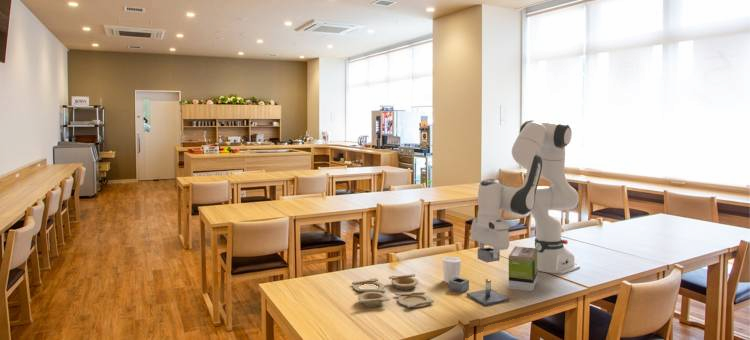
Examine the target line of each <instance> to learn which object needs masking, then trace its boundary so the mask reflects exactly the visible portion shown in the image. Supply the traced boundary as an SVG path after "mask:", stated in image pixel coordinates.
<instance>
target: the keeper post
mask: <svg viewBox="0 0 750 340" xmlns="http://www.w3.org/2000/svg"><path fill="white" fill-rule="evenodd" d="M484 280H485V289H481V290H476V291H471V292H466V297H469V298H470V299H472V300H473V301H475V302H477V303H478V304H480V305H482V306H484V307H486V306H492V305H497V304H501V303H507V302H510V301H511V297H508V296H507V295H504V294H502V293H501V292H498V291H497V290H495V289H493V288H492V279H491V278H485V279H484ZM506 301H507V302H506Z"/></svg>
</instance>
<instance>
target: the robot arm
mask: <svg viewBox="0 0 750 340" xmlns="http://www.w3.org/2000/svg"><path fill="white" fill-rule="evenodd" d="M518 133H519V134H518V136H517V138H516V139H515V141H514V143H513V146H512V148H511V155H512V159H514V161H515V162H516V163H517V164H518V165H519V166H521V167H523V168H525V169H526V172H525V177H524V179H523V183H522V185H521V186H520V187H512V186H508V185H507V186H506V185H503V184H501V182H500V181H499V180H498V179H493V178H489V179H487V178H486V179H483V180H481V182H480V183H479V185H478V189H477V205H478V210H477V217H474V218H473V219H472V223H471V227H470V235H469V236H470V239H471V240H473V241H475V242H477V244H478V247H479V248H478V249H480V248H485V245H487V246H488V247H491V248H493V250H494V252H493V253H492V258H494V259H495V258H497V257H498V253H499V251H503V250H504V251H505V250H508V249H509V247H510V231H509V230H508V229H510V223H509V222H508V221H507V220H506V219H504V217H502V213H501V211H504V212H505V211H506V212H511V213H514V214H518V215H522V216H523V215H524V216H525V215H526V214H528V213H530V214H531V215H532V217H533V219H534V222H535V238H534V248H537V272H543V273H551V274H560V275H564V274H566V273H570V272H571V271H575V270H578V269H580V268H581V265H579V264H578V263H576V262H575V256H574V254H573V252H571V251H570V250H568V249H567V248H566V247H565V246H564V245H568V243H569V241H568V240H567V239H562V224H561V222H560V220H558V219H557V218H555V217H554V216H551V215H550V214H549V211H565V210H566V211H567V210H571V209H575V208H576V207H577V206H578V204H579V201H580V197H579V196H580V195H579V193H578V191H577V190H576V188H574V187H572V185H570V182H568V180H567V177H566V175H565V174H566V171H565V161H566V147H567V146H568V145H569V144H570V142H571V140H572V135H573V133H572V129H571V127H570V125H569V124H567V123H565V122H564V123H563V122H556V121H550V120H527V121H525V122H524V123H522V125H521V126H520V128H519V132H518ZM540 177H541V178H543V179H544V180H547V181H548V182H550V185H549V186H547V185H546V186H545V185H542V186H539V181H540Z"/></svg>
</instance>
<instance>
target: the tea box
mask: <svg viewBox="0 0 750 340" xmlns="http://www.w3.org/2000/svg"><path fill="white" fill-rule="evenodd" d="M537 282H538V270H537V248H535V247H524V246H514V247H513V249H512V251H510V253H509V255H508V289H509V290H511V289H512V290H518V291H524V292H533V291H534V288H535V286H536V284H537Z"/></svg>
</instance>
